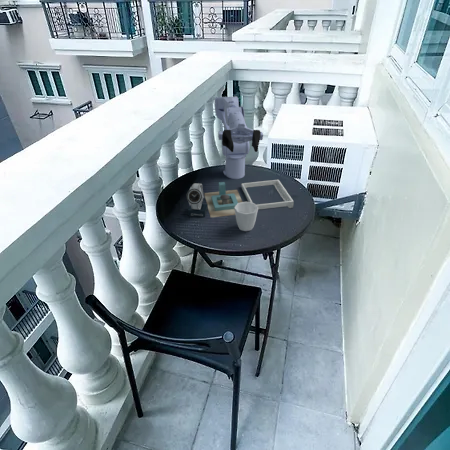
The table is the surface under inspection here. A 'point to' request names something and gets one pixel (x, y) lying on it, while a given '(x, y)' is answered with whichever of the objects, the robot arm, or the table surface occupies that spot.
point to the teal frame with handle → (217, 197)
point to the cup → (246, 215)
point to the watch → (196, 201)
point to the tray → (280, 189)
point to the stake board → (221, 203)
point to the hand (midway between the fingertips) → (244, 149)
